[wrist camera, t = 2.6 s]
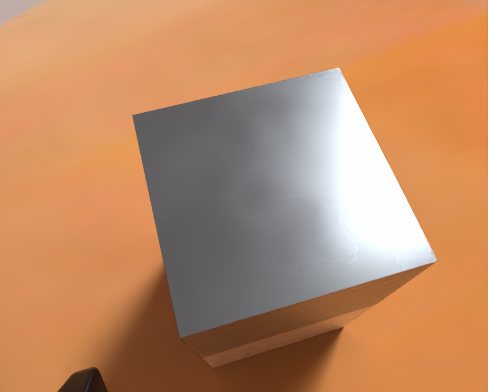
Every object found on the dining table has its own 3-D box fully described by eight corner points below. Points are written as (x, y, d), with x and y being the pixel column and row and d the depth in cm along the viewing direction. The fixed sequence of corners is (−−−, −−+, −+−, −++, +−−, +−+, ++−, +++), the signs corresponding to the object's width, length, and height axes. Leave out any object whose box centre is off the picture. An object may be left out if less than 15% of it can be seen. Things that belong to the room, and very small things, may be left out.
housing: (343, 327, 18) (437, 260, 9) (212, 367, 18) (179, 338, 9) (298, 209, 21) (338, 67, 12) (182, 240, 20) (132, 115, 11)
